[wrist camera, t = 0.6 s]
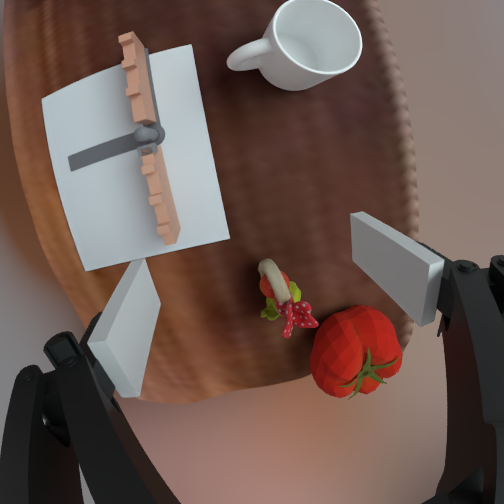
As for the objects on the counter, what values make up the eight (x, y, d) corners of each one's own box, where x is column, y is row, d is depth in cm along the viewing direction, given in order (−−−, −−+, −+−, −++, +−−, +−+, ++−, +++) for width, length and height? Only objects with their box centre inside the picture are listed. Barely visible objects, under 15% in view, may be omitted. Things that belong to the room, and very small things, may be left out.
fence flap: (147, 146, 29) (133, 147, 23) (163, 142, 29) (151, 142, 23) (168, 231, 33) (160, 250, 27) (183, 228, 33) (177, 247, 27)
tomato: (295, 365, 45) (315, 420, 34) (310, 292, 40) (342, 345, 29) (363, 357, 47) (392, 403, 36) (387, 289, 42) (429, 331, 31)
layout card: (42, 92, 24) (40, 92, 24) (190, 38, 25) (190, 37, 25) (86, 270, 34) (85, 271, 33) (229, 237, 35) (230, 238, 34)
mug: (234, 106, 29) (243, 90, 20) (214, 44, 26) (216, 7, 16) (330, 86, 29) (373, 70, 20) (311, 28, 26) (345, -4, 17)
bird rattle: (239, 269, 39) (267, 328, 39) (230, 277, 28) (269, 356, 28) (281, 250, 39) (308, 309, 39) (289, 249, 28) (325, 331, 28)
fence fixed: (134, 50, 25) (117, 31, 18) (145, 47, 25) (130, 27, 18) (150, 142, 29) (134, 143, 23) (161, 139, 29) (148, 139, 23)
